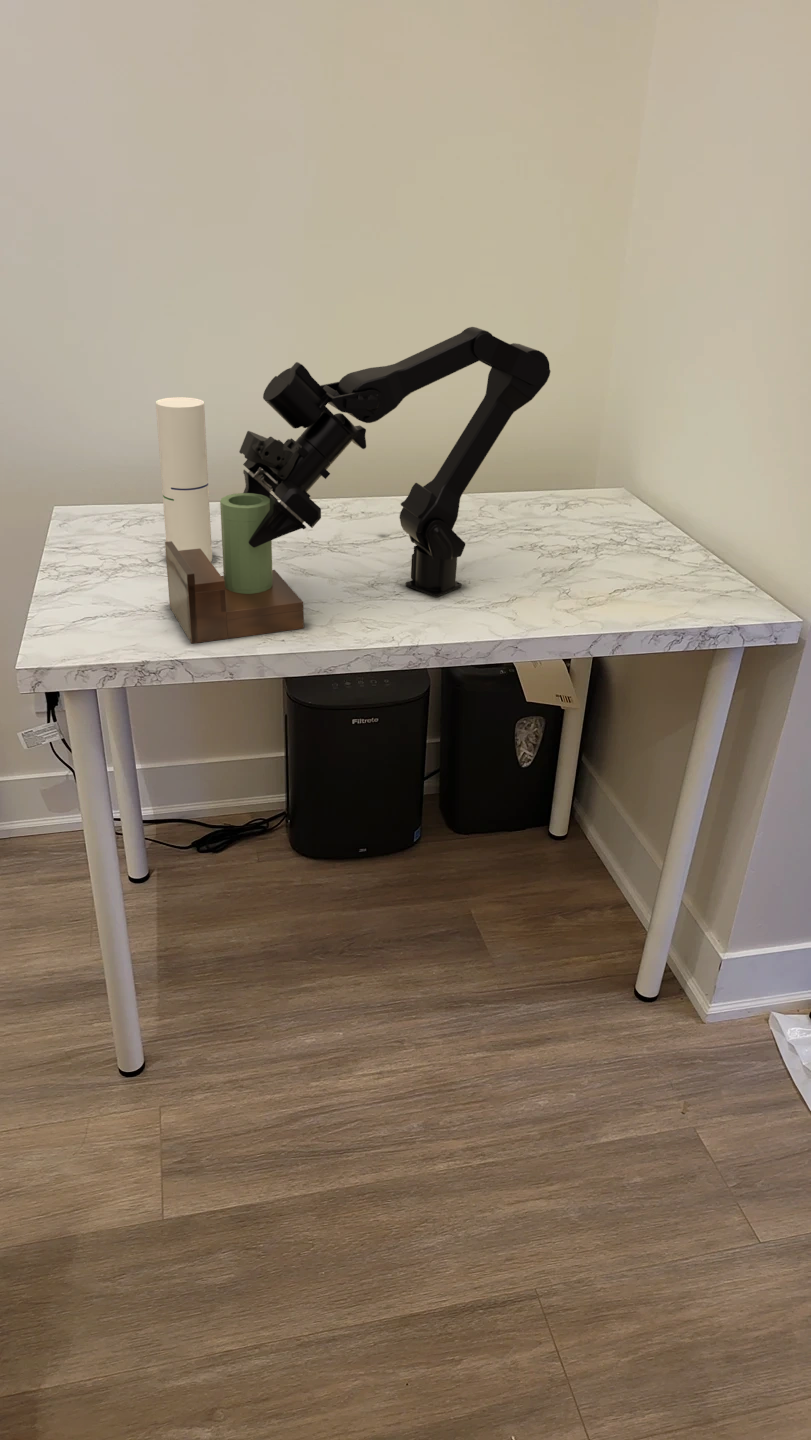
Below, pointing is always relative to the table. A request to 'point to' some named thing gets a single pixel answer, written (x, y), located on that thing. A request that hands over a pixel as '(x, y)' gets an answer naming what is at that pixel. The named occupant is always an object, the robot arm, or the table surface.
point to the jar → (245, 544)
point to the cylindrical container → (184, 473)
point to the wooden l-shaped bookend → (225, 601)
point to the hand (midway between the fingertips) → (241, 534)
